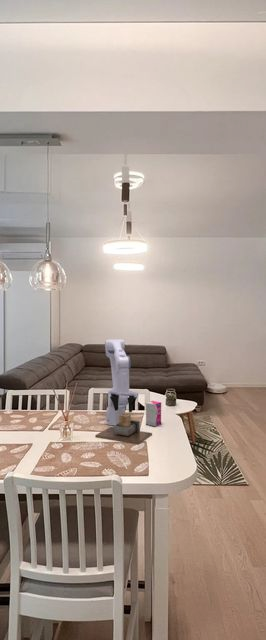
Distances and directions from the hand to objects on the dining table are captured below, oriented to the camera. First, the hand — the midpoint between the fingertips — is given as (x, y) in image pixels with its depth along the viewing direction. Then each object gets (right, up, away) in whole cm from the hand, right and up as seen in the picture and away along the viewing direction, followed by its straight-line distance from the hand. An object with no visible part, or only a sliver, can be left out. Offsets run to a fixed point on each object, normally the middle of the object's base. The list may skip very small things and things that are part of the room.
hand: (123, 411), depth 180 cm
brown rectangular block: (+1, -8, -4) cm, 9 cm away
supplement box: (+15, -10, +12) cm, 22 cm away
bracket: (+1, -10, -4) cm, 11 cm away
